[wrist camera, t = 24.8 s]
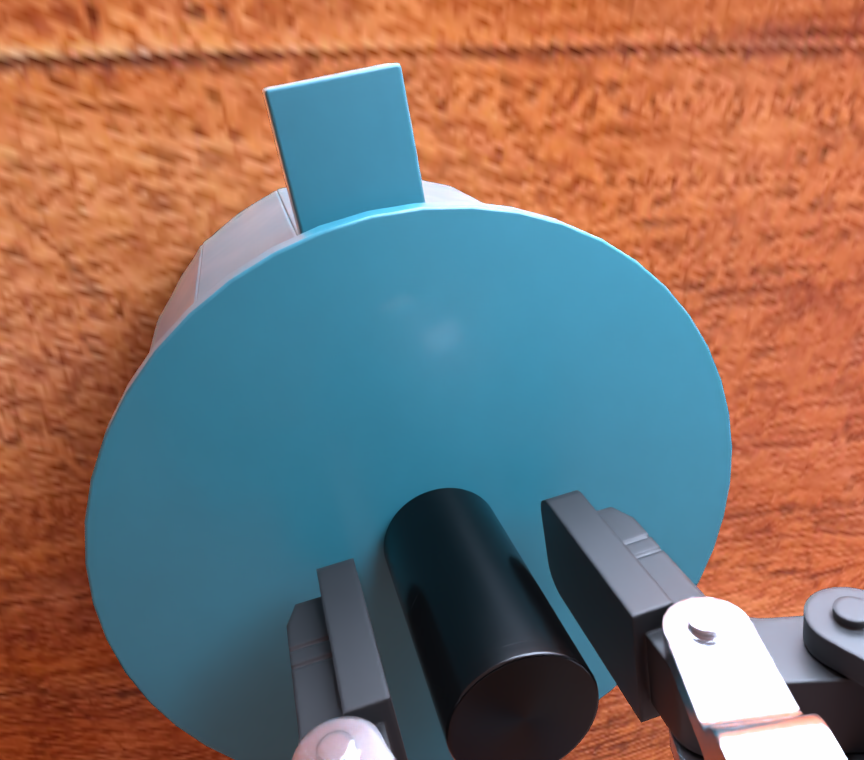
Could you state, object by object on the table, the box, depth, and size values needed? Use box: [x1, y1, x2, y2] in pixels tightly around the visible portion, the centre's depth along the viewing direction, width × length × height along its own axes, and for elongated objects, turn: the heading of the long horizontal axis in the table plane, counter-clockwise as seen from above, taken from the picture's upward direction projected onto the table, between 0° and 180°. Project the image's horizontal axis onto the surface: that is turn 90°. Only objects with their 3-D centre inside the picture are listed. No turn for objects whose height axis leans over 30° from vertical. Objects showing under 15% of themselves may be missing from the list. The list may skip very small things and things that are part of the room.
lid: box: [85, 202, 732, 760], centre depth 14 cm, size 13×13×6 cm
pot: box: [149, 63, 484, 353], centre depth 20 cm, size 12×18×8 cm
